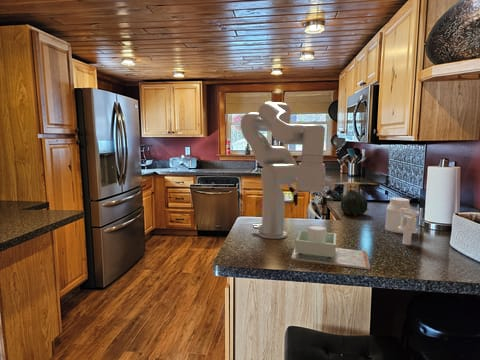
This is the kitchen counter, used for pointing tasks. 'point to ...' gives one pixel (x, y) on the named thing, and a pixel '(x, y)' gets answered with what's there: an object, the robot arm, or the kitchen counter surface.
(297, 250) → the pale green open box
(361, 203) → the squash
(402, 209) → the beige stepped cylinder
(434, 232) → the kitchen counter surface
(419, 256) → the kitchen counter surface
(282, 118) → the robot arm
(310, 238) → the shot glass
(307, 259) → the white flat board
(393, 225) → the jar
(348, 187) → the candy box
